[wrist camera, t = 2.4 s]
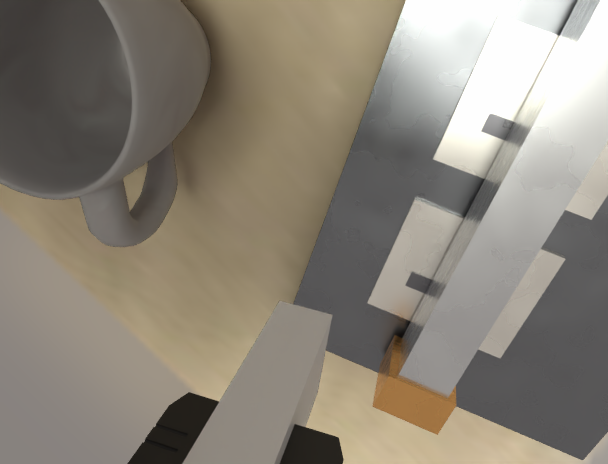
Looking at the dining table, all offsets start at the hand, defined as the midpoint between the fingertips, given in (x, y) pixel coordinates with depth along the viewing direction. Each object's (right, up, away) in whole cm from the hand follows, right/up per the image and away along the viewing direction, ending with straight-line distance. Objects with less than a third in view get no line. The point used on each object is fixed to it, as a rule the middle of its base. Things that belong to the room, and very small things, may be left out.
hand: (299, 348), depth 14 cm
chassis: (+11, +5, +10) cm, 15 cm away
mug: (-7, +11, +12) cm, 17 cm away
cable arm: (+9, +5, +7) cm, 12 cm away
